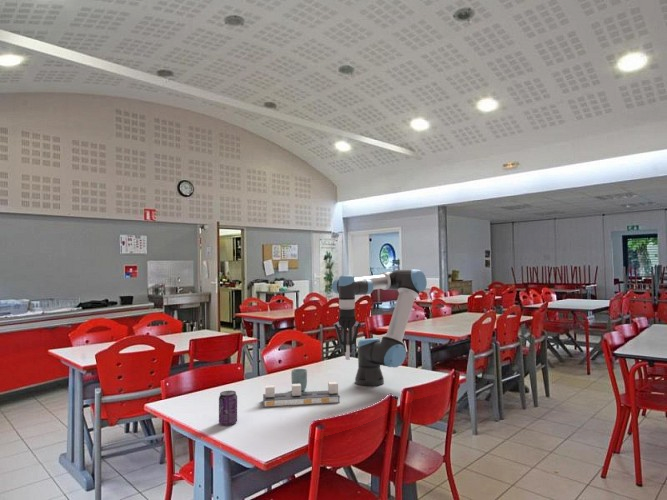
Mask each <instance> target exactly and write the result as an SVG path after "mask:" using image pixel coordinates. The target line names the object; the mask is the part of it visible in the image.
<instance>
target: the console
mask: <svg viewBox="0 0 667 500" xmlns="http://www.w3.org/2000/svg"><path fill="white" fill-rule="evenodd" d="M262 397H263V398H262V399H263V401H262V405H263V407H262V408H272V407H273V408H275V407H292V406H308V405H322V404H324V405H325V404H339V403H340V394H339V392H338V393H334V394H329V392H328V390H315V391H313V390H312V391H301V395H299V396H292V392H279V393H278V392H277V393H276V392H275V397H266V396H265V393H264V394H262Z"/></svg>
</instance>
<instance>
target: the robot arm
mask: <svg viewBox="0 0 667 500" xmlns="http://www.w3.org/2000/svg"><path fill="white" fill-rule="evenodd" d="M427 284H428V282H427V277H426V275H425V273H424V271H422V270H421V269H415V268H413V269H394V270H391V271H386V272H381V273H380V274H375V275H367V276H359V277H355V276H354V275H340V276H339V278H337V279H334V280H333V282H332V283H331V289H332V291H333V293H335V294H338V308H339V309H338V320H337V322H335V323H333V327H334V328H335V331H336V336H337V340H338V343H339V344H340V345H341V346H342V352H343V353H345V355H344V356H345V360H347V361H350V359H351V358H350V356H351V354H350V353H352V351H353V348H352V347H353V345H355V344H356V342H358V345H357V361H358V364H357V366H358V369H357V371H356V375H355V378H354V382H355V384H357V385H359V386H363V387H365V386H366V387H374V386H376V387H377V386H380V385H383V384H384V382H385V381H384V379H385V378H384V375H383V372H382V370H381V366H384V367H387V368H398V367H401V365H403V363H404V362H405V360H406V356H407V352H406V348H405V346H404V345H405V343H404V341H403V339H404V336H405V332H406V329H407V326H408V323H409V319H410V315H411V312H412V309H413V305H414V303H415V299H417V298H419V295H420V292H424V291H425V290H426V288H427ZM380 289H381V290H384V291H386V290H387V291H388V290H389V291H391V290H392V291H397V292H398V296H397V300H396V303H395V306H394V310H393V312H392V316H391V319H390V322H389V326H388V328H387V331H386V333H385V335H383V336H382V337H381V339H380V338H379V337H374V338H373V337H371V338H363V339H360V340H359V341H357V338H358V333H359V329H360V327H361V325H362V324H361V322H358V321H357V319H356V309H355V308H356V296H363V295H364V296H366V295H371V294H372V293H373V291H374V290H380ZM340 326H341V329H342V334H341V330H340ZM354 326H355V328H354V331H353V327H354ZM352 331H353V332H352ZM347 333H348V334H347ZM352 333H353V335H352ZM347 337H348V338H347ZM347 340H348V342H347ZM347 343H348V344H347Z"/></svg>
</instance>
